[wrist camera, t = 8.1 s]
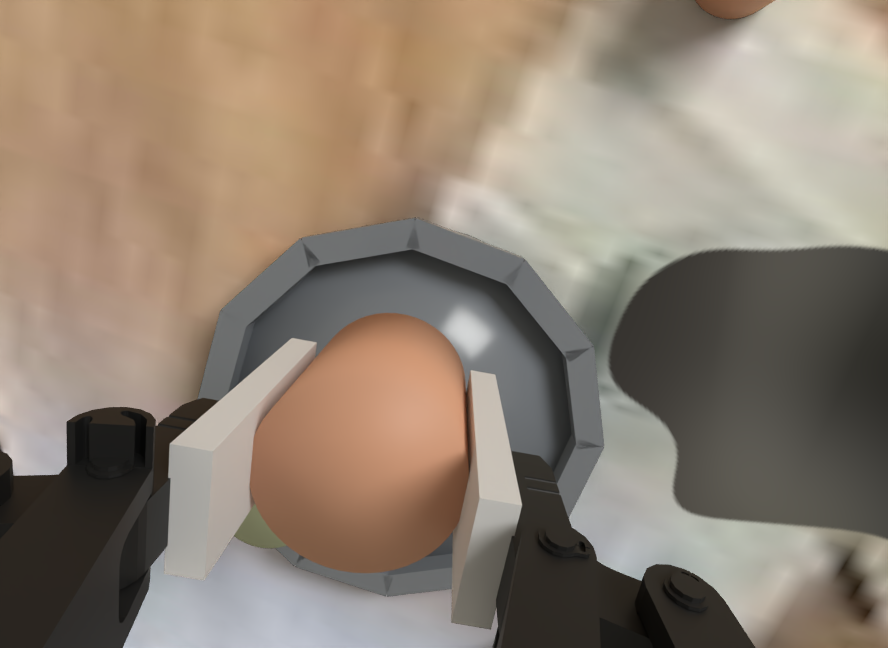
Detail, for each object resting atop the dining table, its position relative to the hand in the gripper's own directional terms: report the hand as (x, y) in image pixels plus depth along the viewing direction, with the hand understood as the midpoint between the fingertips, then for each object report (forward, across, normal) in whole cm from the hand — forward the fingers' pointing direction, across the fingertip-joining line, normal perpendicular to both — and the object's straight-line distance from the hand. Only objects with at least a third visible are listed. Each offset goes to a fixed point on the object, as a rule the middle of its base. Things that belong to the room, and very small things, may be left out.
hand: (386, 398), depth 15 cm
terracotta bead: (+1, 0, 0) cm, 1 cm away
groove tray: (+13, 0, -7) cm, 15 cm away
